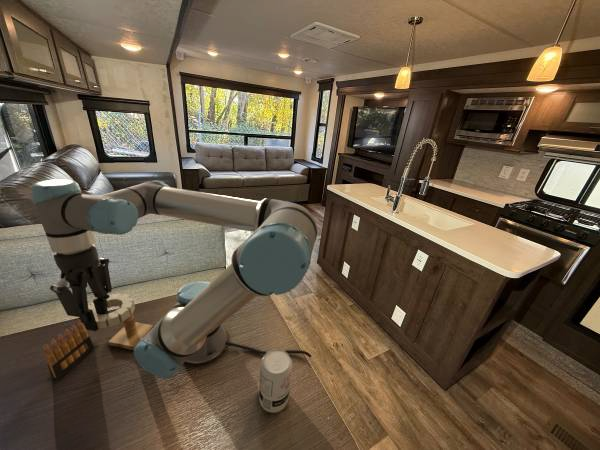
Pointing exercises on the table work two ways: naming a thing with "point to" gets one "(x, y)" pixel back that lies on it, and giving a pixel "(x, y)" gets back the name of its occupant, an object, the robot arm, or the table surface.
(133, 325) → the post stand
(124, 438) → the table surface
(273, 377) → the supplement can
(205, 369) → the table surface
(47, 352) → the ammunition clip
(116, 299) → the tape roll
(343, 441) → the table surface
